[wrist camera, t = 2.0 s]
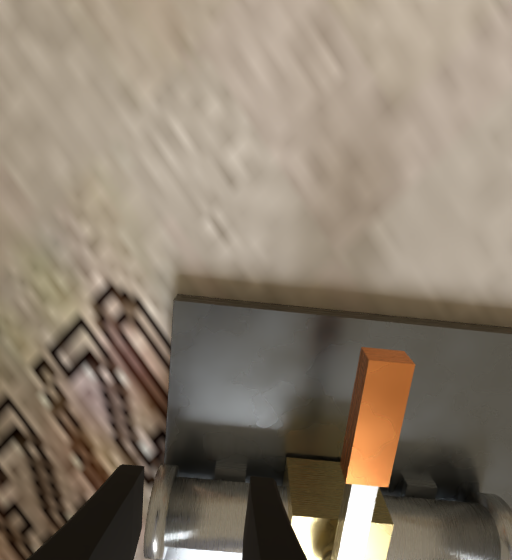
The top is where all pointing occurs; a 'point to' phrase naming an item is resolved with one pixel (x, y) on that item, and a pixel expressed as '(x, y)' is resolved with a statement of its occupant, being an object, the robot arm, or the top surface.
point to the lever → (370, 443)
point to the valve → (330, 432)
